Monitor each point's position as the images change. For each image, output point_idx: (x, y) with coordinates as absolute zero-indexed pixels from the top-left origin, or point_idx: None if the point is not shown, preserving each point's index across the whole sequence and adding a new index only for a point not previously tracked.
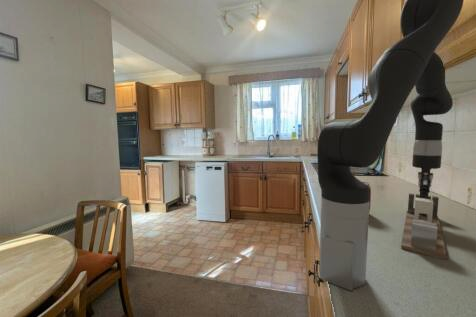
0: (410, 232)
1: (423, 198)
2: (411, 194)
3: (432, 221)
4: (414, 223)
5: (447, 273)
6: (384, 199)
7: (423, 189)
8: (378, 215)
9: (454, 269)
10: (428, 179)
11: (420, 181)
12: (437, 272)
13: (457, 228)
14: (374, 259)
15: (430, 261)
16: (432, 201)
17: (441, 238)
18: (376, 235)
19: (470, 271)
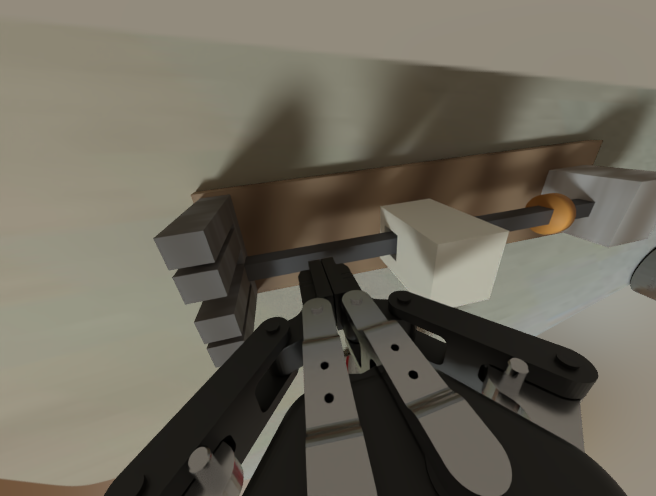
0: None
1: (434, 283)
2: None
3: (316, 201)
4: (643, 235)
5: (647, 135)
6: (75, 401)
7: (415, 331)
8: (338, 333)
9: (631, 122)
10: (494, 402)
11: (262, 428)
12: (644, 152)
13: (296, 109)
14: (609, 249)
15: None
16: (487, 238)
17: (491, 158)
18: (499, 284)
19: (636, 89)
